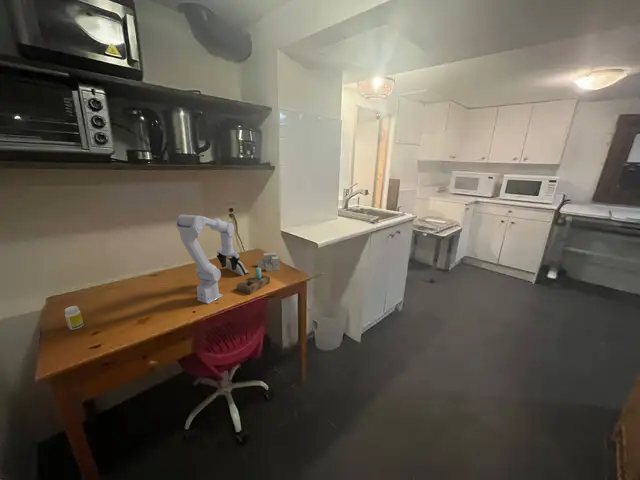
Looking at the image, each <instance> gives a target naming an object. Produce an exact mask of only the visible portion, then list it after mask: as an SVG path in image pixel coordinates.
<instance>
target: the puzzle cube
mask: <svg viewBox="0 0 640 480" xmlns="http://www.w3.org/2000/svg"><path fill="white" fill-rule="evenodd" d="M262 256H263V258H262V259H257V260H256V261H257V263H256V264H257V265H256V266H257V268H264V269H265V272H274V271H280V258H279V256H277V253H276V251H275V252H265V253H264V252H263V255H262Z"/></svg>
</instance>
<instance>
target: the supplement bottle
mask: <svg viewBox="0 0 640 480" xmlns="http://www.w3.org/2000/svg"><path fill="white" fill-rule="evenodd" d="M64 313H65V314H64V318H65V320H66V321H65V322H66V324H67V327H68V330H71V331H72V330H73V331H74V330H77V329H81V328H82V327H83V326H84V321H83V317H82V312H81V310H79V307H78V305H72V306H69V307H66V308H65V309H64Z"/></svg>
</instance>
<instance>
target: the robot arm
mask: <svg viewBox="0 0 640 480" xmlns="http://www.w3.org/2000/svg"><path fill="white" fill-rule="evenodd" d="M175 227H176V228H177V230H178V231H179V236H180V239H181V243H182V244H183V246H184V247H185V249H186V250H187V252H188V253H189V256H191V258H192V260H193V262H194V263H195V265H196V267H195V272H196V278H197V279H198V280H199V282H200V284H198V285H197V286H196V293H197V298H196V300H197V301H199V302H201V303H204V304H208V305H209V304H211V303H212V302H215V301H216V300H219V299H220V298H222V297H223V296H224V295H223V294H221V293H220V292H219V291H220V290H219V280H220V279H221V276H222V273H221V270H220V269H219V268H217V266H216V265H215V264H213V263H211V262H210V260H209V259H208V257H207V254H206V253H205V251H204V250H203V248H202V247H201V244H200V242H199V241H198V238H199V237H200V235H201V233H202V230H203V228H204V227H209V228H210V229H211V230H213V231H216V232H218V233H219V235H220V243H221V244H220V246H221V249H217V250H216V254H217V255H216V258H217V259H218V261H219V263H220V265H221V268H227V266H226V259H227V258H228V257H232V258H230V259H229V260H230V262H231V266H232V270H236V267H237V263H238V260H239V261H240V253H237V252H236V251H235V250H234V243H233V242H234V241H233V235H234V230H235V226H234V224H233V223H232V222H229V221H226V220H225V219H221V218H220V217H215V218H212V219H211V218H208V217H206V216H202V215H194V214H193V215H191V214H184V213H183V214H179V215H178V217H177V218H176V222H175ZM227 256H228V257H227Z"/></svg>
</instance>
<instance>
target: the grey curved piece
mask: <svg viewBox="0 0 640 480" xmlns="http://www.w3.org/2000/svg"><path fill="white" fill-rule="evenodd" d="M230 258H232V257H231V256H228V257H227V258H226V268H227V269H228V270H230V271H232V272H234V273H235V274H237V275H240V276H242V277H243V276H245V274H250V272H249V270H247V269H246V267H245V265H244V264H243V262H241V261H240V259H239V260H238V263H237V267H236V270H232V266H231V262H230V260H229V259H230Z"/></svg>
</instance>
